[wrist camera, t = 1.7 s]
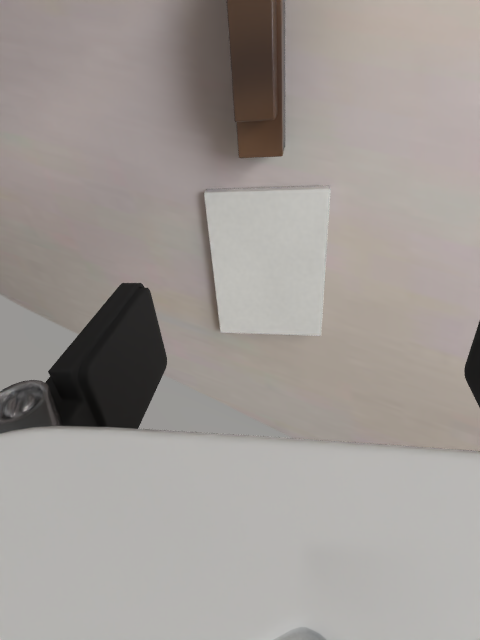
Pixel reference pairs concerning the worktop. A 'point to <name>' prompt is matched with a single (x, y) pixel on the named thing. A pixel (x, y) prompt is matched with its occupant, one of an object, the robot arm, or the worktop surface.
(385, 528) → the robot arm
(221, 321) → the tile
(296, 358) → the worktop surface
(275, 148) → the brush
